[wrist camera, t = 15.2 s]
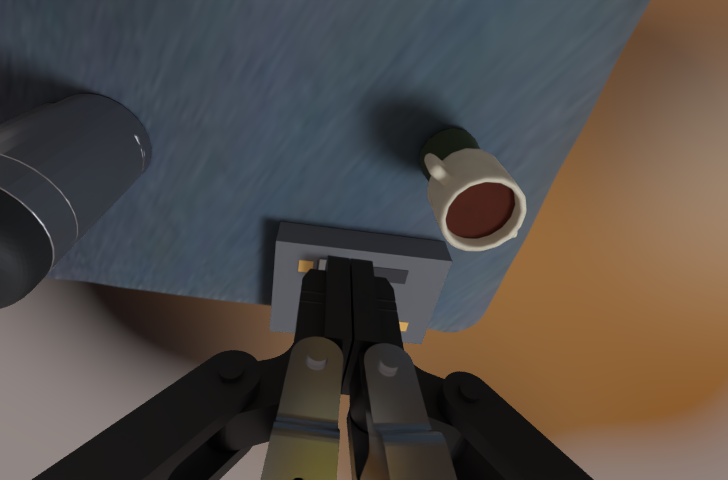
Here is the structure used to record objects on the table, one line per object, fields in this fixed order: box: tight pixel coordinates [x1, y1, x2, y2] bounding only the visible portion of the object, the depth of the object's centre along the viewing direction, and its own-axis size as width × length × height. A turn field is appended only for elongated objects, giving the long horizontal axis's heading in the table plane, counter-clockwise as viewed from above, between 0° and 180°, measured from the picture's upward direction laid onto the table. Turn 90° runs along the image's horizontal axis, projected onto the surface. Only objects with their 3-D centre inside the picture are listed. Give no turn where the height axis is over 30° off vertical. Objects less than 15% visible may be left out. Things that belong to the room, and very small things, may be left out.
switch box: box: [270, 222, 452, 344], centre depth 50 cm, size 20×14×4 cm
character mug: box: [420, 128, 527, 251], centre depth 38 cm, size 11×7×13 cm, turn 50°
